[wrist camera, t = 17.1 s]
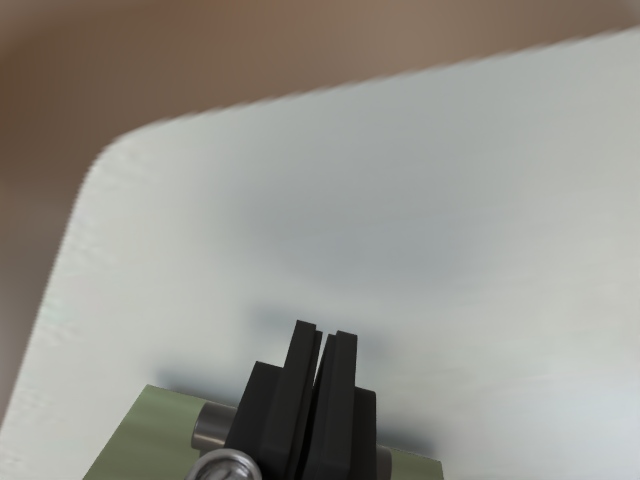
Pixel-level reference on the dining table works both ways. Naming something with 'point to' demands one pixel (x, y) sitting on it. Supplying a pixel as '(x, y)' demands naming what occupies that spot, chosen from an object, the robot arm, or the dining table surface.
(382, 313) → the dining table surface
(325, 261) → the dining table surface
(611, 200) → the dining table surface
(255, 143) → the dining table surface
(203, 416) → the drawer
